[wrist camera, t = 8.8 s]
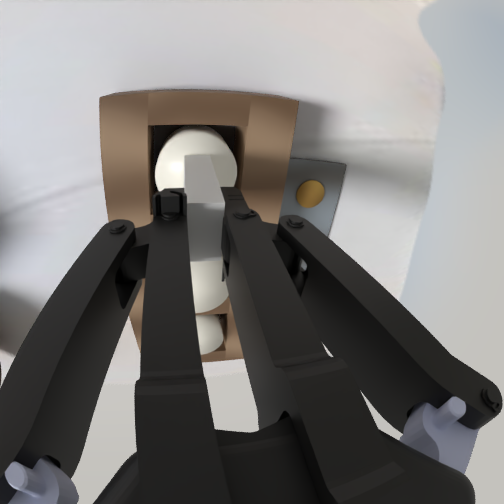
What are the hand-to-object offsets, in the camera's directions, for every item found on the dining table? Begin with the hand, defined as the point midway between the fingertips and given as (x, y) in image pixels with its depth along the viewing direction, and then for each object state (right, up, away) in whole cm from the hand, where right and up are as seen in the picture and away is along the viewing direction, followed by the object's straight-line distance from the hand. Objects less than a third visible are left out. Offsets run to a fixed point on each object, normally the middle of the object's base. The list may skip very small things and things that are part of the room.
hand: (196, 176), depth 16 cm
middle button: (-1, -5, +6) cm, 8 cm away
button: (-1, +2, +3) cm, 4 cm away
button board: (+1, -4, +9) cm, 10 cm away
